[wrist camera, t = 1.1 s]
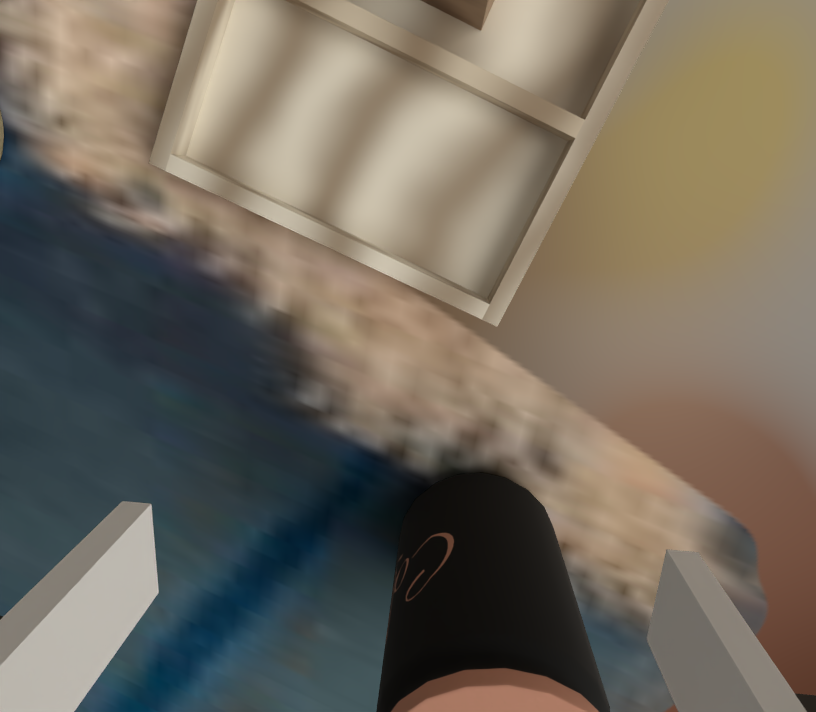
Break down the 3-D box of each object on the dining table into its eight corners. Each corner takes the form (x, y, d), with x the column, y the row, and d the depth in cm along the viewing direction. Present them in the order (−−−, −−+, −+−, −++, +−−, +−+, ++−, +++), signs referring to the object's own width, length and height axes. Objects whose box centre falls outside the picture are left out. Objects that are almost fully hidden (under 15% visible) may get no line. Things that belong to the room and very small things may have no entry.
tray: (169, 164, 35) (148, 163, 32) (308, -284, 28) (295, -328, 26) (493, 317, 36) (497, 326, 34) (698, -75, 29) (720, -98, 27)
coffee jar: (431, 443, 39) (420, 648, 22) (577, 495, 39) (679, 738, 22) (380, 566, 42) (334, 831, 25) (515, 613, 42) (563, 907, 25)
